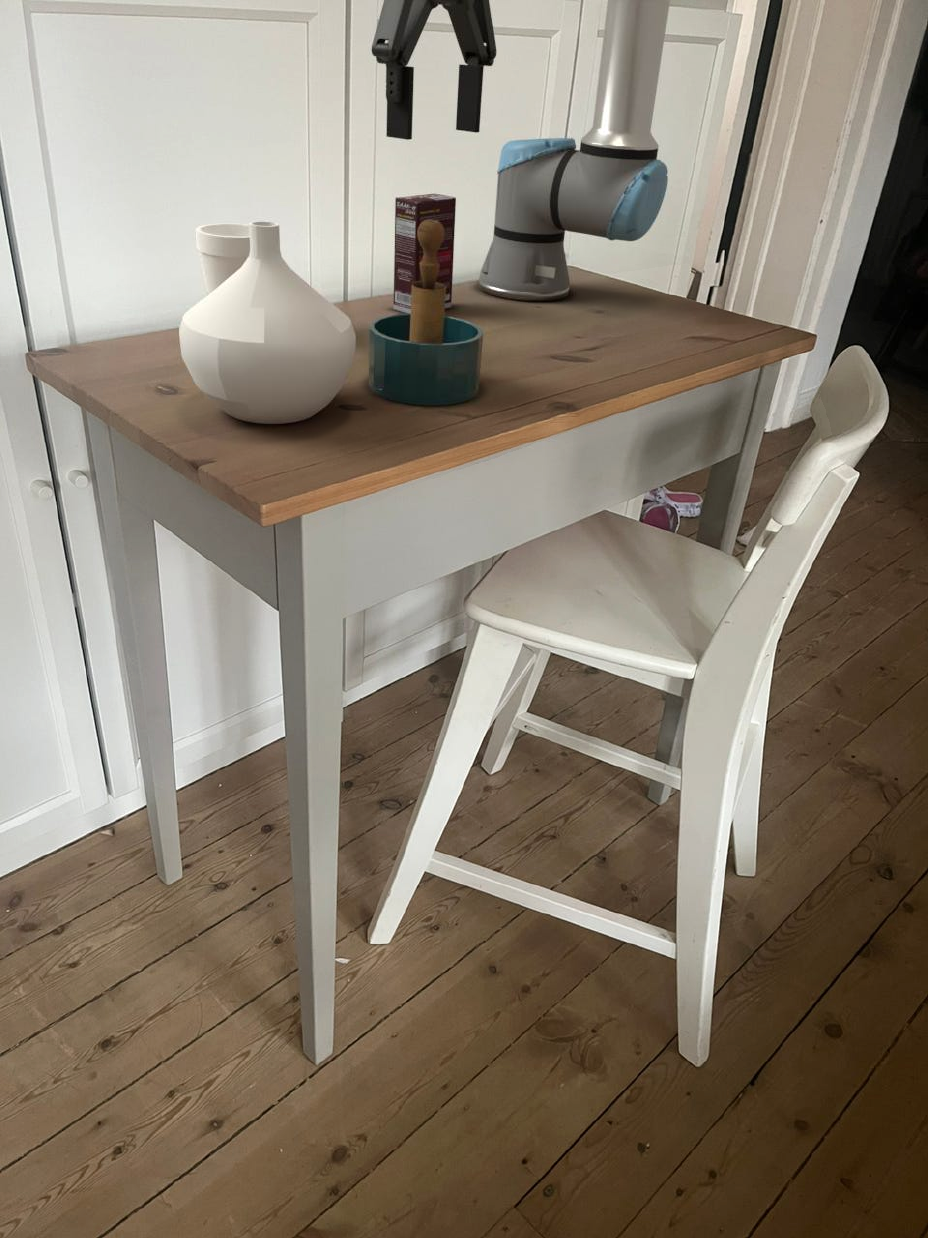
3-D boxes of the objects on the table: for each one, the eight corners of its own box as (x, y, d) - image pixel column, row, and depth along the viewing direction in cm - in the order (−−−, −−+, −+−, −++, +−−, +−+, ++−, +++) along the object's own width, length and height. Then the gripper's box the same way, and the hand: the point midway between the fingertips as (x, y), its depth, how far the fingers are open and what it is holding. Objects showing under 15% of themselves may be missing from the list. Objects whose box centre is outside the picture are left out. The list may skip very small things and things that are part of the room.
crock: (410, 362, 122) (412, 307, 118) (498, 386, 116) (503, 328, 112) (346, 387, 112) (346, 327, 108) (438, 414, 106) (442, 352, 103)
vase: (158, 395, 105) (139, 211, 95) (304, 373, 115) (300, 204, 105) (231, 452, 93) (218, 248, 83) (386, 421, 103) (392, 236, 93)
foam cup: (190, 336, 125) (182, 231, 118) (222, 319, 133) (215, 220, 126) (257, 345, 123) (252, 240, 116) (285, 328, 131) (282, 228, 124)
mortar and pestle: (444, 392, 111) (453, 228, 101) (390, 384, 111) (395, 221, 102) (455, 375, 116) (466, 218, 107) (404, 368, 117) (410, 212, 107)
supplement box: (429, 301, 149) (434, 192, 141) (452, 308, 147) (458, 197, 138) (390, 309, 143) (393, 196, 135) (413, 316, 141) (418, 201, 132)
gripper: (478, -95, 103) (465, 124, 114) (334, -129, 85) (336, 136, 96) (538, -94, 100) (520, 131, 111) (402, -129, 81) (396, 145, 93)
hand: (434, 134), depth 104 cm, fingers open, 13 cm apart
